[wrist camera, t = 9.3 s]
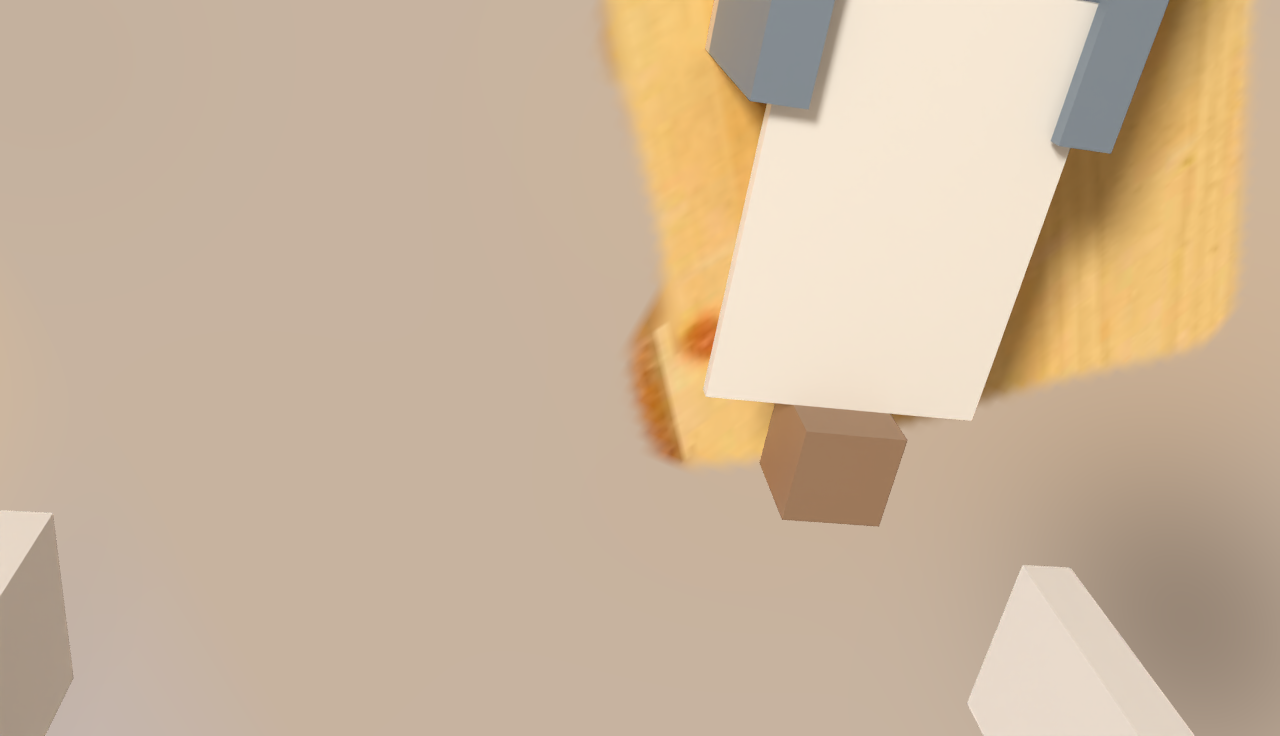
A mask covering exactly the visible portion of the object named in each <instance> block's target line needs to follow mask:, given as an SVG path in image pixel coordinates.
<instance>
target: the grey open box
mask: <svg viewBox="0 0 1280 736" xmlns="http://www.w3.org/2000/svg"><path fill="white" fill-rule="evenodd" d="M1084 1H1090V2H1096V3H1099V4H1098V7H1097V10H1096V13H1095V16H1094V19H1093V21H1092V24H1091V27H1090V30H1089V33H1088V36H1087V38H1086V41H1085V44H1084V47H1083V50H1082V53H1081V56H1080V58H1079V61H1078V64H1077V67H1076V70H1075V73H1074V76H1073V78H1072V81H1071V84H1070V87H1069V90H1068V93H1067V95H1066V98H1065V101H1064V104H1063V107H1062V110H1061V113H1060V115H1059V118H1058V121H1057V124H1056V127H1055V130H1054V133H1053V135H1052V138H1051V142H1053V143H1054V144H1056V145H1058V146H1062V147H1069V148H1076V149H1082V150H1089V151H1096V152H1103V153H1110V154H1111V152H1112V150H1113V147H1114V145H1115V142H1116V139H1117V137H1118V134H1119V131H1120V129H1121V126H1122V123H1123V121H1124V118H1125V116H1126V113H1127V110H1128V108H1129V105H1130V102H1131V100H1132V97H1133V94H1134V92H1135V89H1136V87H1137V84H1138V81H1139V79H1140V76H1141V73H1142V71H1143V68H1144V66H1145V63H1146V60H1147V58H1148V55H1149V52H1150V50H1151V47H1152V44H1153V42H1154V39H1155V37H1156V34H1157V31H1158V29H1159V26H1160V23H1161V21H1162V18H1163V15H1164V13H1165V10H1166V8H1167V5H1168V2H1169V0H1084ZM834 3H835V0H714V5H713V10H712V15H711V20H710V26H709V31H708V36H707V41H706V47H705V49H706V50H707V52H708V53H709V54H710V55H711V56H712V57H713V59H714V60H715V61H716V62H717V63H718V64H719V66H720V67H721V68H722V69H723V70H724V71H725V73H726V74H727V75H728V76H729V77H730V78H731V80H732V81H733V82H734V83H735V84H736V85H737V87H738V88H739V89H740V90H741V91H742V92H743V94H744V95H745V96H746V97H747V98H748V99H749V101H753V102H760V103H767V104H774V105H781V106H787V107H794V108H801V109H808V110H809V106H810V102H811V98H812V94H813V90H814V85H815V81H816V77H817V73H818V69H819V65H820V61H821V56H822V52H823V48H824V44H825V40H826V36H827V32H828V27H829V23H830V19H831V15H832V11H833V7H834Z"/></svg>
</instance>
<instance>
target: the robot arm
mask: <svg viewBox="0 0 1280 736" xmlns="http://www.w3.org/2000/svg"><path fill="white" fill-rule="evenodd" d="M72 680H73V670H72V661H71V653H70V645H69V638H68V630H67V622H66V614H65V606H64V598H63V590H62V582H61V574H60V566H59V559H58V550H57V543H56V534H55V526H54V518H53V513H41V512H21V511H4V510H3V511H2V510H0V736H45V735H46V733H47V730H48V729H49V727H50V725H51V723H52V721H53V719H54V717H55V715H56V713H57V711H58V708H59V706H60V704H61V702H62V700H63V698H64V696H65V694H66V692H67V690H68V688H69V686H70V684H71V682H72ZM967 705H968V707H969V708H970V710H971V712H972V714H973V716H974V718H975V720H976V722H977V724H978V726H979V728H980V730H981V732H982V734H983V736H1195V735H1194V734H1193V733H1192V731H1191V730H1190V729H1189V727H1188V726H1187V725H1186V723H1185V722H1184V721H1183V719H1182V718H1181V716H1180V715H1179V714H1178V712H1177V711H1176V710H1175V709H1174V707H1173V706H1172V704H1171V703H1170V702H1169V700H1168V699H1167V698H1166V696H1165V695H1164V693H1163V692H1162V691H1161V689H1160V688H1159V687H1158V685H1157V684H1156V683H1155V682H1154V680H1153V679H1152V677H1151V676H1150V675H1149V673H1148V672H1147V671H1146V669H1145V668H1144V666H1143V665H1142V664H1141V663H1140V661H1139V660H1138V658H1137V657H1136V656H1135V654H1134V653H1133V652H1132V650H1131V649H1130V648H1129V646H1128V645H1127V644H1126V642H1125V641H1124V640H1123V638H1122V637H1121V635H1120V634H1119V633H1118V632H1117V630H1116V629H1115V627H1114V626H1113V625H1112V623H1111V622H1110V621H1109V619H1108V618H1107V617H1106V615H1105V614H1104V613H1103V611H1102V610H1101V608H1100V607H1099V606H1098V604H1097V603H1096V602H1095V600H1094V599H1093V598H1092V596H1091V595H1090V594H1089V592H1088V591H1087V590H1086V588H1085V587H1084V586H1083V584H1082V583H1081V582H1080V580H1079V579H1078V578H1077V576H1076V575H1075V573H1074V572H1073V571H1072V570H1071V568H1067V567H1048V566H1028V565H1023V566H1022V568H1021V570H1020V573H1019V575H1018V578H1017V580H1016V583H1015V585H1014V588H1013V590H1012V593H1011V595H1010V598H1009V600H1008V603H1007V605H1006V608H1005V610H1004V612H1003V615H1002V618H1001V620H1000V622H999V625H998V628H997V630H996V632H995V635H994V637H993V640H992V642H991V645H990V647H989V650H988V652H987V655H986V657H985V660H984V662H983V665H982V667H981V670H980V672H979V675H978V677H977V680H976V682H975V685H974V687H973V690H972V692H971V694H970V697H969V700H968V702H967Z"/></svg>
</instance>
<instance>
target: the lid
mask: <svg viewBox="0 0 1280 736" xmlns="http://www.w3.org/2000/svg"><path fill="white" fill-rule="evenodd" d="M1098 4H1099V3H1096V2H1090V1H1084V0H835V3H834V7H833V11H832V15H831V19H830V23H829V27H828V32H827V36H826V40H825V44H824V48H823V52H822V56H821V61H820V65H819V69H818V73H817V77H816V81H815V85H814V90H813V94H812V98H811V102H810V106H809V110H808V109H801V108H794V107H787V106H781V105H774V104H767V105H766V110H765V114H764V119H763V123H762V128H761V132H760V137H759V141H758V146H757V150H756V155H755V159H754V164H753V168H752V173H751V177H750V182H749V186H748V191H747V195H746V200H745V204H744V209H743V213H742V217H741V222H740V226H739V231H738V235H737V240H736V244H735V249H734V253H733V258H732V262H731V267H730V271H729V276H728V280H727V285H726V289H725V294H724V298H723V303H722V307H721V312H720V316H719V321H718V325H717V330H716V334H715V339H714V343H713V348H712V352H711V356H710V361H709V365H708V370H707V374H706V379H705V383H704V388H703V390H704V393H705V396H706V397H714V398H725V399H736V400H747V401H758V402H769V403H775V406H774V410H773V413H772V417H771V421H770V425H769V429H768V433H767V437H766V440H765V444H764V448H763V452H762V456H761V460H760V465H761V468H762V470H763V473H764V475H765V478H766V480H767V483H768V485H769V488H770V490H771V493H772V495H773V498H774V500H775V503H776V505H777V508H778V511H779V513H780V515H781V518H782V520H795V521H809V522H824V523H838V524H853V525H867V526H879V524H880V521H881V518H882V515H883V512H884V509H885V506H886V503H887V500H888V497H889V494H890V491H891V488H892V485H893V482H894V479H895V476H896V473H897V470H898V467H899V464H900V461H901V458H902V455H903V452H904V449H905V446H906V443H907V439H906V438H905V436H904V434H903V433H902V431H901V430H900V428H899V427H898V425H897V424H896V422H895V420H894V419H893V417H892V416H891V414H900V415H911V416H922V417H933V418H944V419H955V420H966V421H972V419H973V417H974V414H975V411H976V408H977V406H978V403H979V400H980V397H981V394H982V392H983V389H984V386H985V383H986V381H987V378H988V375H989V372H990V369H991V367H992V364H993V361H994V358H995V356H996V353H997V350H998V347H999V345H1000V342H1001V339H1002V336H1003V333H1004V331H1005V328H1006V325H1007V322H1008V320H1009V317H1010V314H1011V311H1012V309H1013V306H1014V303H1015V300H1016V297H1017V295H1018V292H1019V289H1020V286H1021V284H1022V281H1023V278H1024V275H1025V272H1026V270H1027V267H1028V264H1029V261H1030V259H1031V256H1032V253H1033V250H1034V248H1035V245H1036V242H1037V239H1038V236H1039V234H1040V231H1041V228H1042V225H1043V223H1044V220H1045V217H1046V214H1047V212H1048V209H1049V206H1050V203H1051V200H1052V198H1053V195H1054V192H1055V189H1056V187H1057V184H1058V181H1059V178H1060V175H1061V173H1062V170H1063V167H1064V164H1065V162H1066V159H1067V156H1068V153H1069V151H1070V148H1069V147H1062V146H1058V145H1056V144H1054V143H1053V142H1051V138H1052V135H1053V133H1054V130H1055V127H1056V124H1057V121H1058V118H1059V115H1060V113H1061V110H1062V107H1063V104H1064V101H1065V98H1066V95H1067V93H1068V90H1069V87H1070V84H1071V81H1072V78H1073V76H1074V73H1075V70H1076V67H1077V64H1078V61H1079V58H1080V56H1081V53H1082V50H1083V47H1084V44H1085V41H1086V38H1087V36H1088V33H1089V30H1090V27H1091V24H1092V21H1093V19H1094V16H1095V13H1096V10H1097V7H1098Z"/></svg>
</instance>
